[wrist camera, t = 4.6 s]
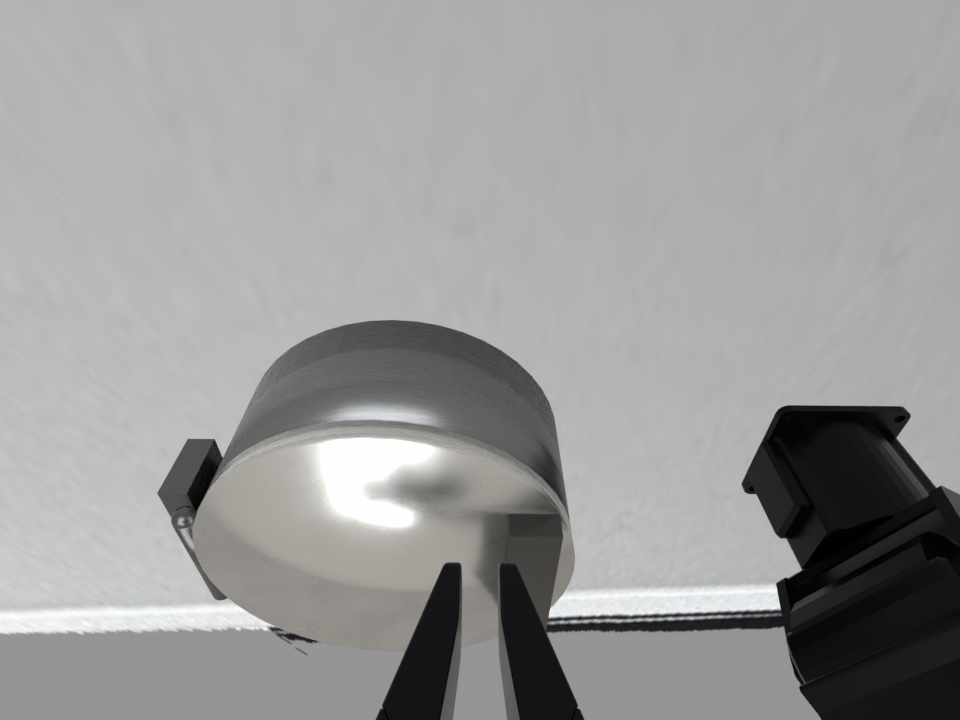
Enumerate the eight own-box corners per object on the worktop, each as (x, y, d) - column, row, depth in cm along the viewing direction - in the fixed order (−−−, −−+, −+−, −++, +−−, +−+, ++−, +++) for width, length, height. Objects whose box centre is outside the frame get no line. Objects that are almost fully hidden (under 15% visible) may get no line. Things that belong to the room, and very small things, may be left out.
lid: (597, 421, 19) (606, 465, 18) (553, 633, 29) (557, 673, 28) (129, 417, 19) (97, 461, 18) (245, 631, 29) (231, 671, 28)
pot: (573, 321, 24) (595, 417, 20) (543, 532, 34) (553, 629, 30) (183, 317, 24) (111, 413, 19) (267, 530, 34) (233, 627, 29)
